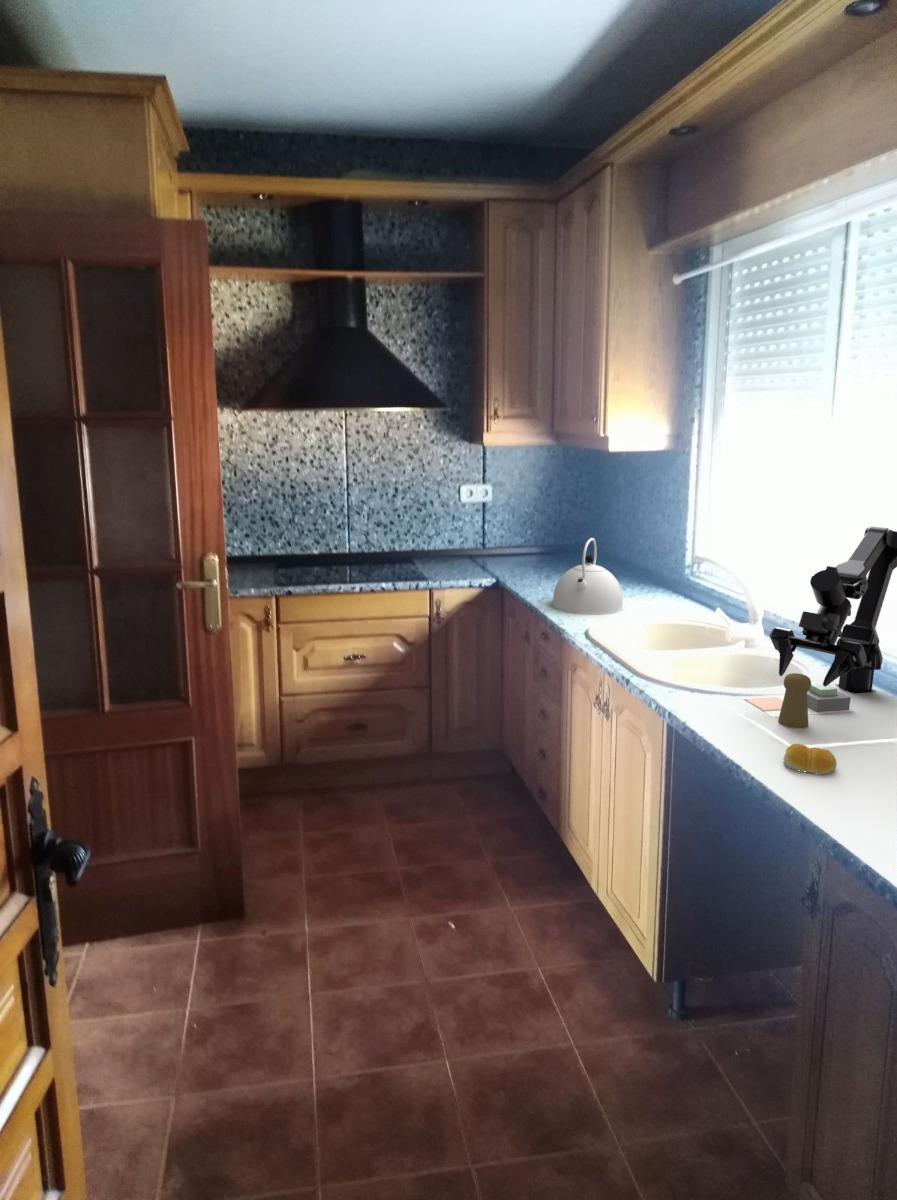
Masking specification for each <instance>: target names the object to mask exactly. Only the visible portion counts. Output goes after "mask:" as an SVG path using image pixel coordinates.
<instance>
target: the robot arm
mask: <svg viewBox="0 0 897 1200" xmlns="http://www.w3.org/2000/svg"><path fill="white" fill-rule="evenodd" d="M896 568H897V530H892V529H890V528H889V527H881V526H880V527H879V526H870V527H869V526H868V527H867V528H866V529H865V531H864V533H863V537H862V539H861V541H859V543H858V544H857V546H856V548H855V549H854V550H853V552H852V554H851V555H850V557H849V558H848V559H847V560H846V561H844V562H842V563H839V564H837V565H836V566H830V565H829V566H828V565H827V566H826V568H825V569H823V570H820V571H818V572H817V571H816V573H815V574H814V575H812V576H811V578H810V586H811V589H812V591H813V595H814V597H815V600H816V602H817V604H818V605H820V606H819V608H818V610H817V613H816V612H810V611H806V610H803V611H802V613H801V617H800V620H799V623H798V627H799V628H802V630H801V633H802V635H803V636H805V638H803V637H798V636H795V634H794V631H793V629H788V628H784V627H779V626H777V627H773V628H772V629H771V632H770V634H769V638H770V641H771V643H772V645H773V648H774V649H775V650H776V651H777V652H778V653H779V665H778V675H779V676H780V677H783V675H784V674H785V673H786V671H787V670H788V667H789V666H790V664H791V662H792V660H793V658H794V656H795V655H794V652H796V649H797V648H802V649H807V650H811V651H815V652H819V653H823V654H825V653H826V654H828V655H829V654H830V655H834V659H833V662H832V663H831V665H830V667H829V668H828V670H827V673H826V675H825V677H824V679H823V681H822V683H823V685H824V686H825V687H826V686H827V685H830V684H831V683H833V682H834V681H835V680H837V679H838V678H839V680H838V683H837V684H835V687H838V688H839V689H841V690H844V691H847V692H849V693H851V694H865V693H876V692H877V691H876V690H875V689H873V684H874V673H875V671H880V670H881V669H882V666H883V659H884V657H883V654H882V652H881V648H880V637H879V634H878V632H877V629H876V628H877V624H878V621H879V617H880V614H881V610H882V608H883V604H884V600H885V598H886V594H887V591H888V589H889V588H888V587H889V584H890V581H891V578H892V573H893V571H894V570H895V569H896ZM849 599H853V600H859V599H860V600H859V603H858V608H857V611H856V613H855V617H854V620H853V621H852V622H851V623H850V624H848V623H846V620H847V619H848V617H851V615H852V607H853V606H852V604H851V601H850V600H849ZM845 623H846V624H845Z"/></svg>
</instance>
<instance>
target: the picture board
mask: <svg viewBox="0 0 897 1200" xmlns="http://www.w3.org/2000/svg"><path fill="white" fill-rule="evenodd" d="M851 698H852V697H851V696H849V695H847V694H844V693H842V691H841V692H840V691H839V690H837V696H825V697H819V696H817V695H815V694H813V693H811V692H809V691H808V692H807V701H808V716H809V715H810V716H811V715H821V714H823V715H825V714H836V713H837V714H838V713H850V712H853V711H852V710H850V707H851V706H850V705H851ZM783 699H784V695H780V696H779V695H777V696H776V695H775V696H766V697H765V696H761V697H749V698H747V697H744V698H743V700H744V701H745V702H747V703H748V704H750V705H752V706H754V707H755V708H757V709H758V710H760V711H762V712H764V713H765V714H767V715H768V716H770V717H771V718H779V715H780V711H781V707H782V703H783Z"/></svg>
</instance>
